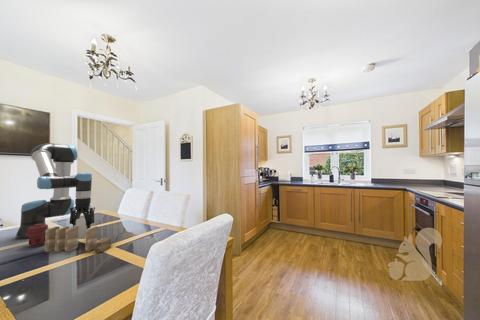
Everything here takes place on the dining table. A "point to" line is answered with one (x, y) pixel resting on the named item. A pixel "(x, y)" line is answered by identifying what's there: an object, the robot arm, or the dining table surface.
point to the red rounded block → (36, 234)
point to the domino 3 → (71, 239)
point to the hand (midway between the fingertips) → (81, 235)
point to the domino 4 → (81, 228)
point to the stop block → (102, 244)
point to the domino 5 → (90, 238)
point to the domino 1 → (50, 239)
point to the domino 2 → (60, 239)
